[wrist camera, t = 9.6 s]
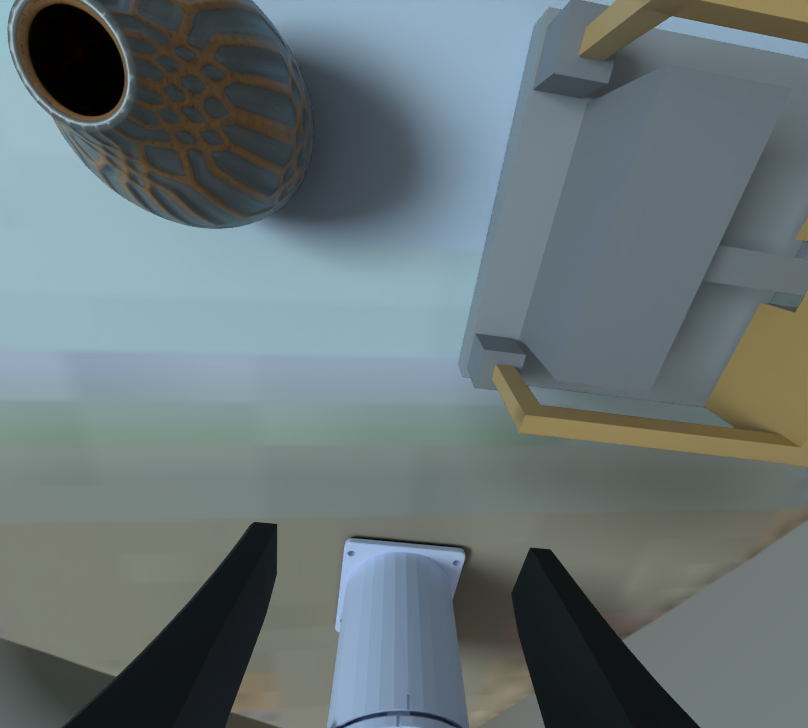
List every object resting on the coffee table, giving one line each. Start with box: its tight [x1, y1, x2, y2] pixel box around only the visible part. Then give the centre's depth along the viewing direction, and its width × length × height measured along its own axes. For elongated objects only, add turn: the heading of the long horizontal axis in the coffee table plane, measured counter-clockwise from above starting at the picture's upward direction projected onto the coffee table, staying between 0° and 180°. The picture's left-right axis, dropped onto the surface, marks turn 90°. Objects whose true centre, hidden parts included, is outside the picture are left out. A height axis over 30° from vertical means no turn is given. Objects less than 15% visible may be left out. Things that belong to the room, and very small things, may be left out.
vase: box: [8, 0, 314, 229], centre depth 11 cm, size 7×7×9 cm
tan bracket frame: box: [492, 0, 808, 467], centre depth 12 cm, size 11×12×4 cm
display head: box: [458, 0, 808, 408], centre depth 15 cm, size 13×14×6 cm
